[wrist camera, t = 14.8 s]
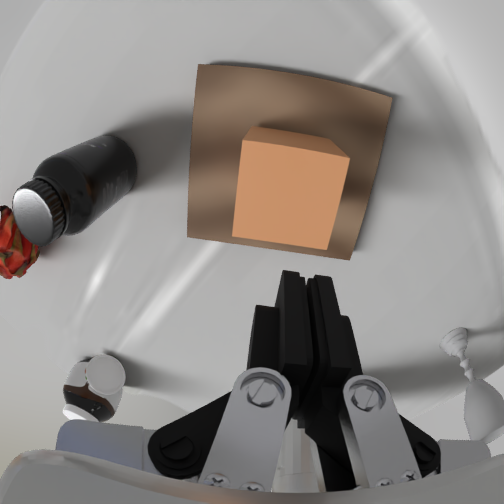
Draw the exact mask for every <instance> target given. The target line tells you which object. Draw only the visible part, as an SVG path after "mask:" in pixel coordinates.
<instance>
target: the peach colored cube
mask: <svg viewBox="0 0 504 504" xmlns="http://www.w3.org/2000/svg"><path fill="white" fill-rule="evenodd" d="M349 161H350V158H349V157H348V156H347V155H346V154H345V153H344V152H343V151H342V150H341V149H340V148H339V147H338V146H336V145H335V144H334V143H333V142H332V141H331V140H330V139H328V138H323V137H318V136H312V135H307V134H301V133H296V132H290V131H283V130H277V129H270V128H263V127H255V126H252V127H251V128H250V129H249V131H248V132H247V134H246V135H245V137H244V138H243V140H242V148H241V157H240V166H239V175H238V184H237V193H236V202H235V212H234V221H233V231H232V236H233V237H240V238H247V239H254V240H261V241H268V242H275V243H282V244H289V245H296V246H303V247H309V248H316V249H323V250H327V247H328V244H329V240H330V237H331V233H332V229H333V226H334V222H335V218H336V214H337V210H338V206H339V203H340V199H341V195H342V191H343V186H344V182H345V178H346V174H347V169H348V165H349Z"/></svg>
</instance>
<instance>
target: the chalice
mask: <svg viewBox="0 0 504 504" xmlns="http://www.w3.org/2000/svg"><path fill="white" fill-rule="evenodd" d="M467 344H468V341H467V330H466V329H465V328H458V329H455V330H453V331H451V332H450V333H448V334H447V335H446V336H445V337H444V338H443V340H442V341H441V344H440V348H441V349H442V350H444V351H445V352H446V353H448V355H450V356H458V357H459V358H460V362H461V363H460V366H461V367H463V368H464V369H465V374H464V375H465V376H467V378H468V379H469V382H470V385H469V386H468V387H467V388H466V396H465V404H464V420H465V423H466V426H467V429H468V433H469V436H470V439H471V440H478V441H483V442H484V443H485V444H488V443H490V442H492V441H494V440H495V439H497V438H498V437H500V436H501V435H503V434H504V400H503V398H502V396H501V394H500V393H499V392H498V391H497V390H496V389H495V388H494V387H493V386H491V385H490V384H488V383H487V382H485V381H484V380H483V379H478V380H476V379H475V377H474V373H473V371H474V369H472V368H471V367H470V366H469V361H470V359H467V358H466V357H465V355H464V351H465V349H466V347H467Z"/></svg>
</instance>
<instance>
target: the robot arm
mask: <svg viewBox="0 0 504 504" xmlns="http://www.w3.org/2000/svg"><path fill="white" fill-rule="evenodd" d="M271 488H272V492H271ZM0 504H504V454H501V455H497V456H494V457H491V454H490V450H489V448H488V446H487V445H486V444H485V443H484V442H483V441H478V440H470V441H469V440H442V439H440V440H439V441H438V442H436V441H435V440H434V439H433V438H432V437H431V436H429V435H428V434H426V433H425V432H423V431H422V430H420V429H419V428H418V427H416V426H415V425H414V424H412V423H411V422H409V421H408V420H407V419H405V418H404V417H402V416H401V415H400V414H398V412H397V409H396V407H395V404H394V402H393V399H392V397H391V395H390V392H389V390H388V389H387V387H386V386H385V385H384V384H383V383H382V382H381V381H380V380H378V379H376V378H375V377H372V376H368V375H363V373H362V368H361V364H360V359H359V355H358V351H357V346H356V342H355V338H354V334H353V330H352V326H351V322H350V319H349V317H348V316H344V315H341V314H340V310H339V306H338V302H337V297H336V293H335V289H334V285H333V281H332V278H331V277H329V276H322V275H315V276H314V278H308V281H307V284H306V283H305V278H304V277H300V274H299V272H293V271H286V270H283V272H282V275H281V280H280V285H279V289H278V294H277V298H276V303H275V307H269V306H262V305H256V307H255V313H254V318H253V324H252V331H251V338H250V345H249V354H248V362H247V370H246V371H244V372H243V373H242V374H241V375H239V376H238V378H237V380H236V381H235V384H234V387H233V389H232V391H231V392H229V393H227V394H225V395H223V396H222V397H220V398H218V399H216V400H214V401H213V402H211V403H209V404H207V405H205V406H203V407H201V408H199V409H198V410H196V411H194V412H192V413H190V414H188V415H186V416H184V417H182V418H180V419H178V420H176V421H174V422H172V423H170V424H167V425H165V426H163V427H161V428H160V429H158V430H146V429H143V427H140V426H128V425H118V424H109V423H102V422H95V421H88V420H82V419H73V420H70V421H68V422H66V423H65V424H64V425H63V426H62V427H61V428H60V430H59V433H58V437H57V443H56V449H55V450H32V451H27V452H24V453H21V454H20V455H18V456H17V457H16V458H15V459H14V460H13V461H12V462H11V463H10V464H9V466H8V467H7V469H6V470H5V472H4V473H3V475H2V477H1V479H0Z"/></svg>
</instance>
